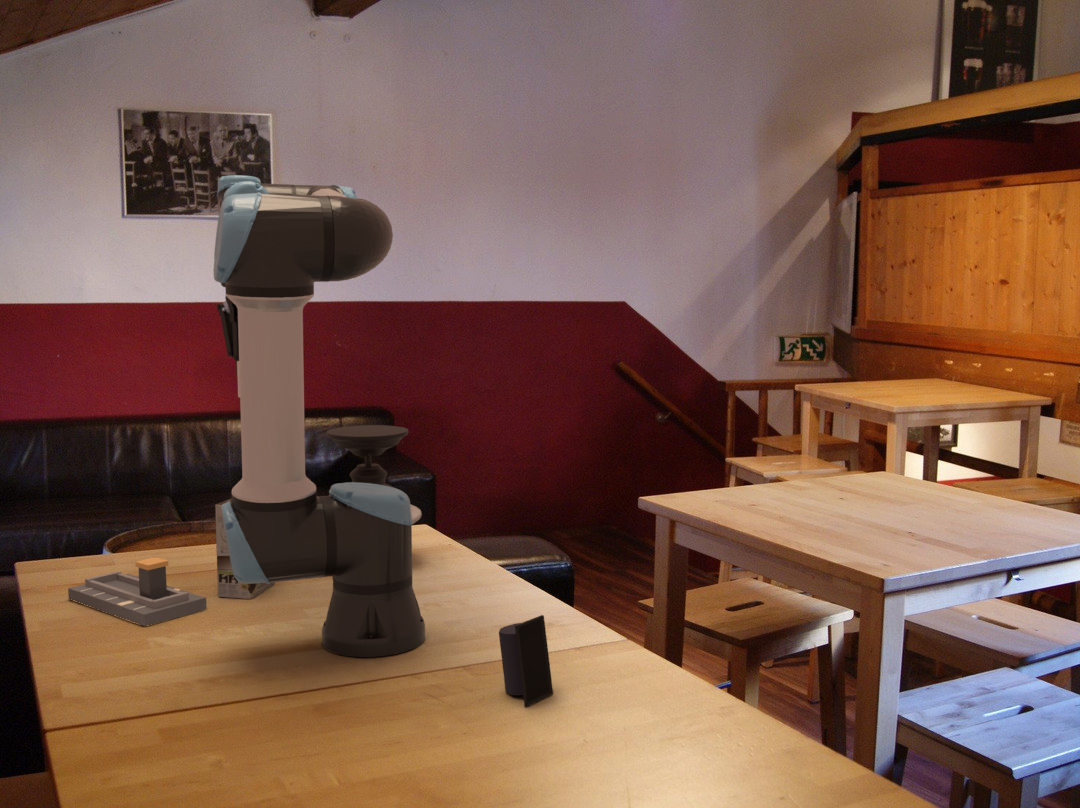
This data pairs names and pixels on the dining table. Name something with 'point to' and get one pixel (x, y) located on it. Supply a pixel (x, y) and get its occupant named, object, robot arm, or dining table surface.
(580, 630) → the dining table surface
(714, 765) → the dining table surface
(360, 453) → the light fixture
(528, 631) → the speaker
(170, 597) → the console board
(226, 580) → the coffee box
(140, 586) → the fader tab
